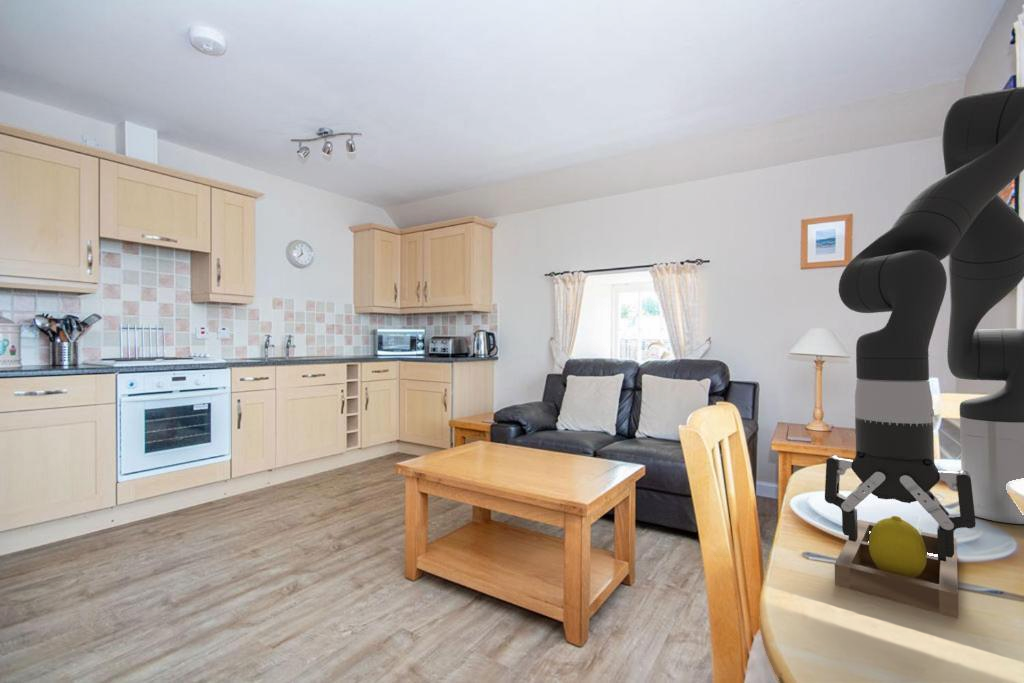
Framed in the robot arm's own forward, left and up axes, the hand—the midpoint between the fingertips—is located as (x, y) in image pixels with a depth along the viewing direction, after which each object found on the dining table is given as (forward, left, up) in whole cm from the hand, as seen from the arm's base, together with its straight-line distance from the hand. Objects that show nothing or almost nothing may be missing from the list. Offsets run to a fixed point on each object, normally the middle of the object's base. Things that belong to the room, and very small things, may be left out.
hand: (895, 548), depth 59 cm
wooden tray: (-4, -2, -6) cm, 7 cm away
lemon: (0, 0, -4) cm, 4 cm away
